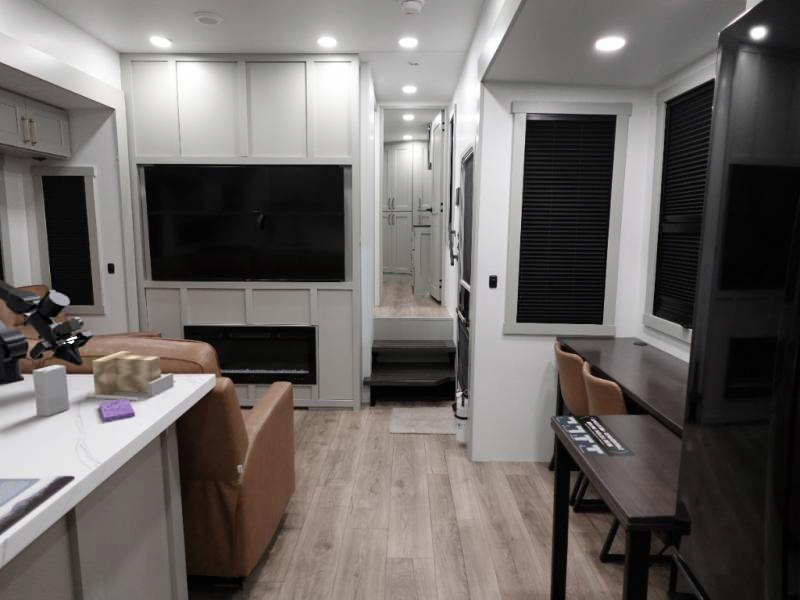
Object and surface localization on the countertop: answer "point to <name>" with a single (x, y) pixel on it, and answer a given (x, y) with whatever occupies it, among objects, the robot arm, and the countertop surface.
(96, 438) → the countertop surface
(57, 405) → the skincare box
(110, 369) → the t block
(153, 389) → the tray
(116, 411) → the sponges
